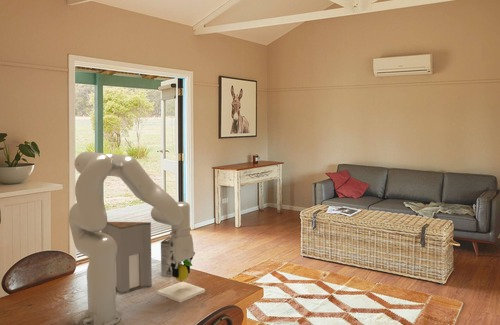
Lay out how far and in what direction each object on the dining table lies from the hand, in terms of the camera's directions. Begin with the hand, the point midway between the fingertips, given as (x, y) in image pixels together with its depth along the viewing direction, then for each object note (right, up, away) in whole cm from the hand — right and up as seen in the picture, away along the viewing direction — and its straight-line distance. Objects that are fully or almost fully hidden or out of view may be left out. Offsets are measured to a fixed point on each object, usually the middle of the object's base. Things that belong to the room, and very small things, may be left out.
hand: (181, 274), depth 179 cm
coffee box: (-8, -6, +24) cm, 26 cm away
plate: (0, -8, +1) cm, 8 cm away
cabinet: (-25, -8, +4) cm, 26 cm away
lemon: (0, -3, 0) cm, 3 cm away
